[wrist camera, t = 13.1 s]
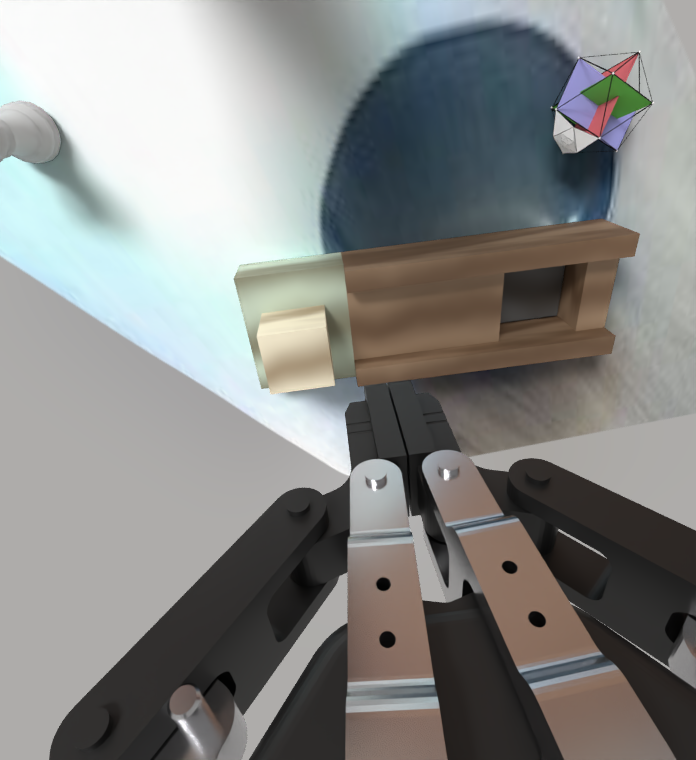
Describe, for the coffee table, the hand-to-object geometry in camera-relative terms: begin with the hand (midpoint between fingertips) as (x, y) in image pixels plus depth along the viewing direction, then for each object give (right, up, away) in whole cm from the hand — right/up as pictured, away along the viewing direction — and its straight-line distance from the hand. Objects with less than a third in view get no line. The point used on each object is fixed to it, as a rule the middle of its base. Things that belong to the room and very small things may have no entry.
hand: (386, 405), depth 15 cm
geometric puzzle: (+19, +25, +24) cm, 39 cm away
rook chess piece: (-27, +21, +22) cm, 41 cm away
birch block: (-6, +5, +29) cm, 30 cm away
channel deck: (+7, +9, +32) cm, 34 cm away
